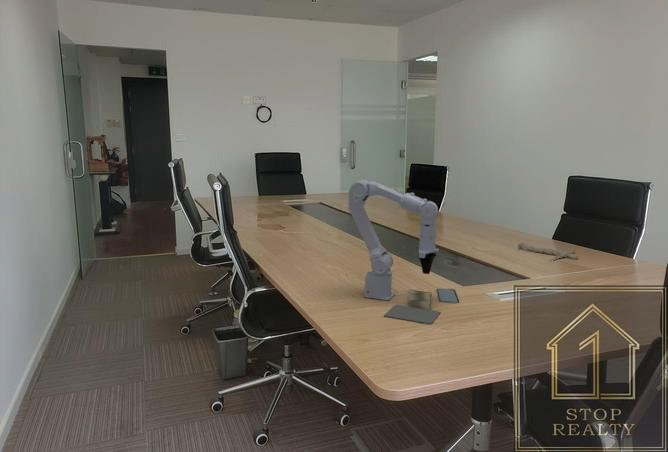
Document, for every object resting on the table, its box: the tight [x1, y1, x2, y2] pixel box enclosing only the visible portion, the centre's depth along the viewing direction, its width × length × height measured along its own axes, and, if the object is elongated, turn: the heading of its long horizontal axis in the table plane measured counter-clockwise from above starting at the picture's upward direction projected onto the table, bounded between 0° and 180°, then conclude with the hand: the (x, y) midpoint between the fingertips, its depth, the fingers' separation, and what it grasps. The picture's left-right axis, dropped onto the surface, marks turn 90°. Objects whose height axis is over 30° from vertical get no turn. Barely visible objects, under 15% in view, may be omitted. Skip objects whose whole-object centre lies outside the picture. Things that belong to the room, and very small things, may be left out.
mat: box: [383, 304, 442, 325], centre depth 166 cm, size 16×12×1 cm
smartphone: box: [435, 288, 461, 304], centre depth 186 cm, size 7×1×15 cm
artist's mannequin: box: [517, 242, 579, 262], centre depth 253 cm, size 28×4×30 cm
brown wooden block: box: [406, 288, 432, 310], centre depth 172 cm, size 8×2×6 cm, turn 64°
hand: (426, 273), depth 178 cm, fingers closed
